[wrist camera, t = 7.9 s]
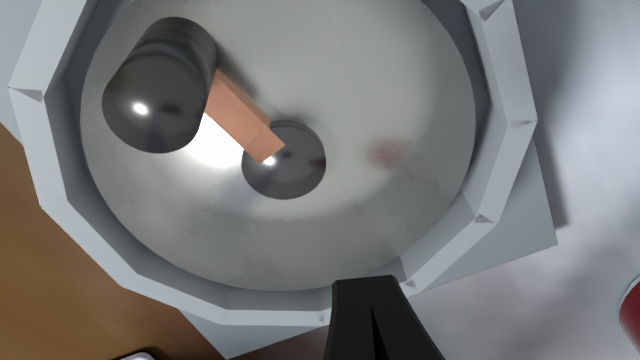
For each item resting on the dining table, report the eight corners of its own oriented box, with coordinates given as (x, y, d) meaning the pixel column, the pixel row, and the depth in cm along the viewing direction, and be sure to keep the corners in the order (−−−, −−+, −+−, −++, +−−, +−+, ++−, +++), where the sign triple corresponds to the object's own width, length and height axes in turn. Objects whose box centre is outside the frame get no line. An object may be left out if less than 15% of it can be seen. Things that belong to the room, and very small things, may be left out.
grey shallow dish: (228, 344, 28) (222, 393, 25) (-125, -40, 16) (-199, -18, 13) (548, 230, 24) (578, 275, 22) (407, -364, 12) (438, -415, 10)
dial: (527, 155, 20) (593, 240, 16) (270, 313, 24) (267, 414, 20) (308, -176, 13) (321, -183, 9) (9, 122, 18) (-77, 212, 14)
